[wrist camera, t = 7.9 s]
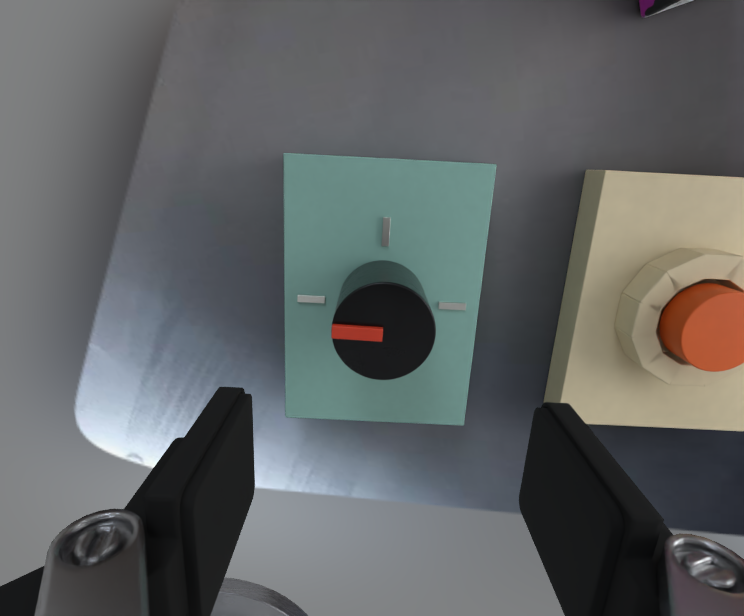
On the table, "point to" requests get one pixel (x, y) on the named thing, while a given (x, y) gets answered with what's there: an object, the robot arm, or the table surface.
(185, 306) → the table surface
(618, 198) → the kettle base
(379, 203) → the dial panel
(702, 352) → the power button
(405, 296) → the knob
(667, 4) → the candy bar box
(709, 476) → the table surface
